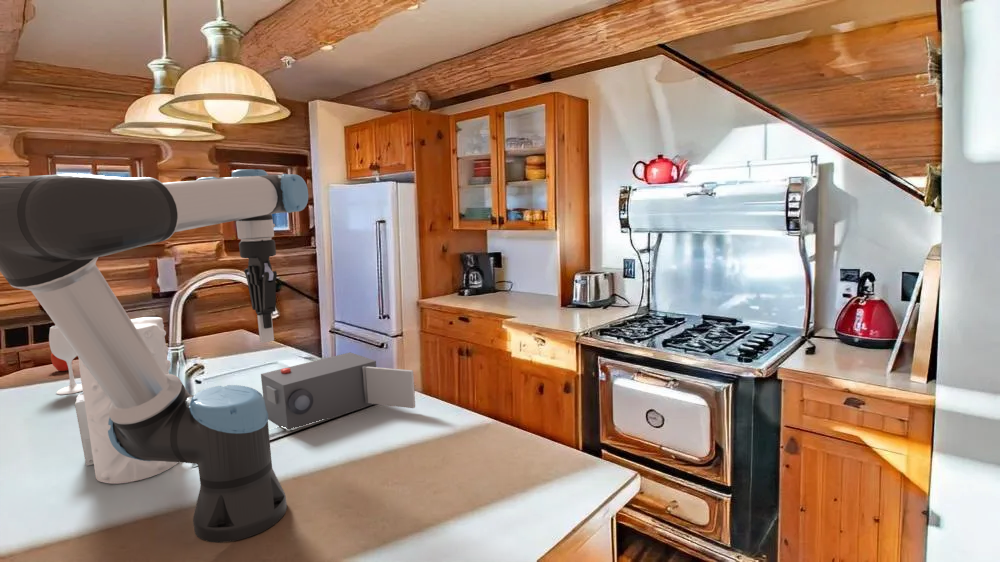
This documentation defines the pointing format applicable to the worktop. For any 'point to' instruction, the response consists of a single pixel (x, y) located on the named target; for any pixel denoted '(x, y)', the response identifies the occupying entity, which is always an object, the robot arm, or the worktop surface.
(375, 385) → the side door
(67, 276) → the robot arm
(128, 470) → the vase
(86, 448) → the skincare box
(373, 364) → the camera body
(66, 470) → the worktop surface
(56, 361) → the apple
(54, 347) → the wineglass
